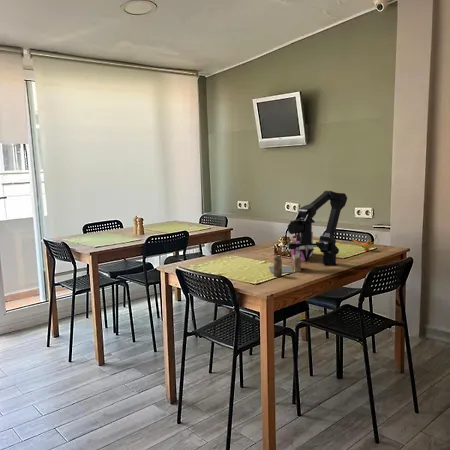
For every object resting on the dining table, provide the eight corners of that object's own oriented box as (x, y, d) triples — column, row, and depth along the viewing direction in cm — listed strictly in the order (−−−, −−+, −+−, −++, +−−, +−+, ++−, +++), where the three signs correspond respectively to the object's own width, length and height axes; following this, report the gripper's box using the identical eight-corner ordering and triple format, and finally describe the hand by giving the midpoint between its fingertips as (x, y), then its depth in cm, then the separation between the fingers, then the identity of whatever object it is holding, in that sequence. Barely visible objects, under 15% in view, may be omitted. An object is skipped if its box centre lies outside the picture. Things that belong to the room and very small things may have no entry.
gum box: (304, 262, 251) (304, 238, 249) (290, 261, 254) (290, 237, 252) (313, 253, 272) (313, 231, 271) (300, 253, 276) (300, 231, 274)
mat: (291, 266, 241) (291, 265, 241) (294, 272, 227) (294, 272, 227) (268, 267, 241) (268, 266, 241) (270, 273, 228) (270, 272, 228)
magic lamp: (352, 248, 284) (352, 231, 282) (380, 251, 273) (381, 233, 271) (347, 250, 278) (348, 232, 277) (376, 253, 267) (377, 235, 266)
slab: (298, 267, 239) (298, 254, 238) (301, 272, 229) (301, 258, 228) (292, 267, 239) (292, 254, 238) (295, 272, 229) (294, 258, 228)
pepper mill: (281, 274, 224) (281, 254, 223) (282, 276, 221) (281, 256, 219) (273, 275, 225) (273, 254, 223) (274, 277, 221) (273, 256, 219)
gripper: (321, 229, 239) (321, 257, 241) (286, 230, 239) (286, 258, 242) (325, 232, 228) (325, 262, 230) (288, 233, 228) (289, 263, 231)
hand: (306, 261), depth 233 cm, fingers closed
